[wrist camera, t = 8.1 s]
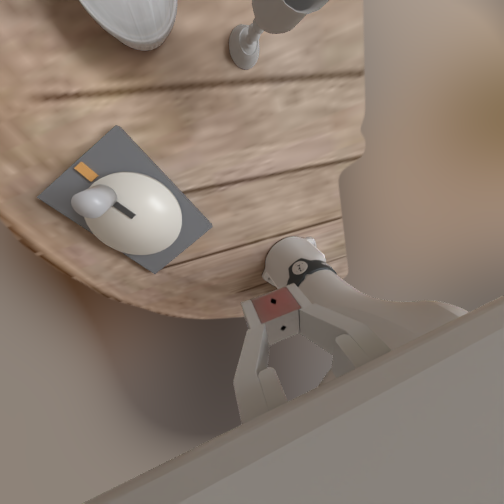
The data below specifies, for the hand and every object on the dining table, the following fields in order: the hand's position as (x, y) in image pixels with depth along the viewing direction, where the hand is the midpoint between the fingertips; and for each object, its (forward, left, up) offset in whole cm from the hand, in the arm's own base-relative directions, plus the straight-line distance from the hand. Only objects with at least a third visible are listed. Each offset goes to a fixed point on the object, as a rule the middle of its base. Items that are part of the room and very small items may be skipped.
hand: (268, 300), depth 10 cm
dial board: (+4, +13, -34) cm, 36 cm away
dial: (+4, +13, -31) cm, 34 cm away
